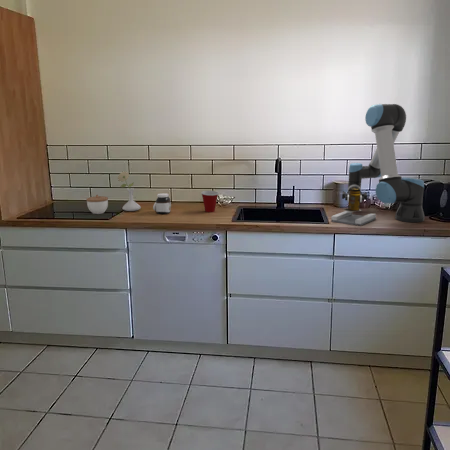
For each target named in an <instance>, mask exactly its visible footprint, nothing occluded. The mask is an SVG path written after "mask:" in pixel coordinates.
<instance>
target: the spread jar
mask: <svg viewBox="0 0 450 450" xmlns="http://www.w3.org/2000/svg"><path fill="white" fill-rule="evenodd" d="M156 195H157V196H156V197H157V198H156V200H155V202H154V204H153V206H152V209H153V211H155V212H156V213H157V214H158V215H168V214H170V213H171V210H172V203H171V202H172V201H171V198H170V197H169V196H170V195H169V193H166V192H165V193H157V194H156Z"/></svg>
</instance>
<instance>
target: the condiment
mask: <svg viewBox="0 0 450 450" xmlns="http://www.w3.org/2000/svg"><path fill="white" fill-rule="evenodd" d="M347 203H348V204H347V205H348V206H347V208H342V210H343V211H349V212H352V213H355V212H362V211H363V210H362V209H360V206H361V205H360V203H361V202H360V189H358V188H351V189H350V193H349V202H347Z"/></svg>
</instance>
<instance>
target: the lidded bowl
mask: <svg viewBox="0 0 450 450" xmlns="http://www.w3.org/2000/svg"><path fill="white" fill-rule="evenodd" d="M86 204H87V208H88V210H89V211H90V212H91V213H92V214H93V215H99V214H104V213H105V211H107V209H108V207H109V197H107V196H99V195H98V194H96V195H95V196H90V197H87V198H86Z"/></svg>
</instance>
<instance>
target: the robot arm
mask: <svg viewBox="0 0 450 450" xmlns="http://www.w3.org/2000/svg"><path fill="white" fill-rule="evenodd" d="M406 113H407V112H406V110H405V108H404V107H402V105H400V104H397V103H396V104H395V103H392V104H390V103H384V104H383V103H378V104H377V103H376V104H373V105H371V106H370V107H369V108H367V110H366V113H365V119H364V120H365V124H366V125H367V126H368V127H370V128H371V132H372V133H374V135H375V142H376V143H375V144H376V149H375V151H374V153H373V156H372V158H371V160H370V161H369V164H368V165H363V164H362V163H360V162H359V163H358V162H357V163H356V162H352V163H350V164H349V167H348V168H349V169H348V180H347V181H348V182H347V183H348V184H347V191H342V194H341V200H342V199H344V200H345V201H346V202H347V203H348V202H349V193H350V189H351V188H358V189H360V203H363V202H362V201H367V200H368V195H367V193H368V192H362V190H361V189H362V180H365V179H376V178H377V179H378V178H379V179H378V183H377V184H376V187H375V195H376V197H377V199H378V200H379V201H380V202H381V203H383V204H395V203H399V206H398V208H397V210H396V212H395V217H394V219H395V220H397V221H400V222H406V223H421V222H424V221H425V212H424V209H423V201H424V198H423V197H424V190H425V181H424V180H423V179H420V178H413V177H406V176H405V177H404V176H403V177H402V176H401V175H400V173H398V172H399V171H398V166H397V164H398V163H397V159H396V152H395V144H394V143H395V142H396V140H397V138H398V136H399V134H400V133H401V132H402V131H403V129H404V127H405V125H406V121H407V114H406Z"/></svg>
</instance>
